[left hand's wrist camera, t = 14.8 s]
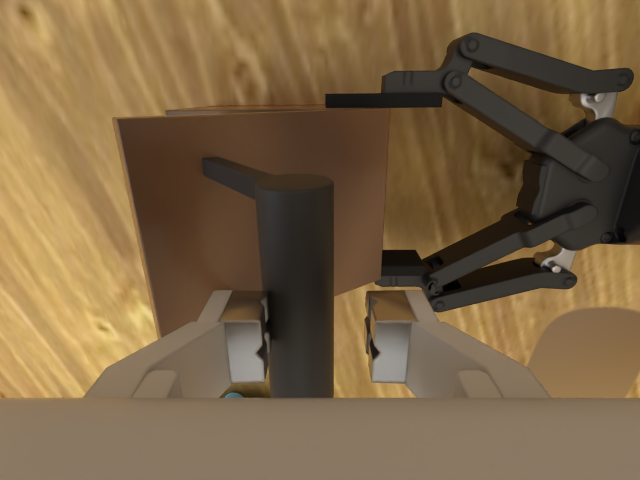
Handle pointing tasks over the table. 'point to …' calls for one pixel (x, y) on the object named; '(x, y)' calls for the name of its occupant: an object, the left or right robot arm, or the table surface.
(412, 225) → the table surface
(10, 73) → the table surface
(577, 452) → the left robot arm
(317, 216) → the lid
